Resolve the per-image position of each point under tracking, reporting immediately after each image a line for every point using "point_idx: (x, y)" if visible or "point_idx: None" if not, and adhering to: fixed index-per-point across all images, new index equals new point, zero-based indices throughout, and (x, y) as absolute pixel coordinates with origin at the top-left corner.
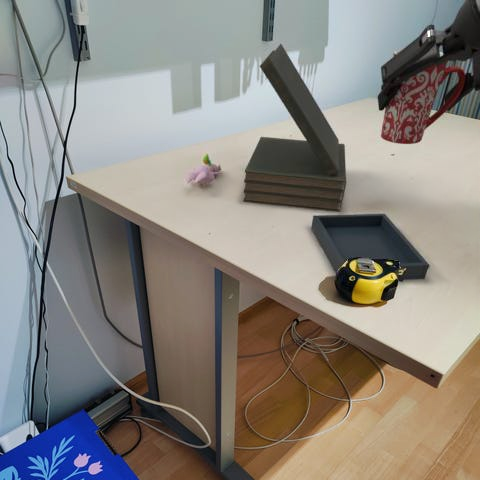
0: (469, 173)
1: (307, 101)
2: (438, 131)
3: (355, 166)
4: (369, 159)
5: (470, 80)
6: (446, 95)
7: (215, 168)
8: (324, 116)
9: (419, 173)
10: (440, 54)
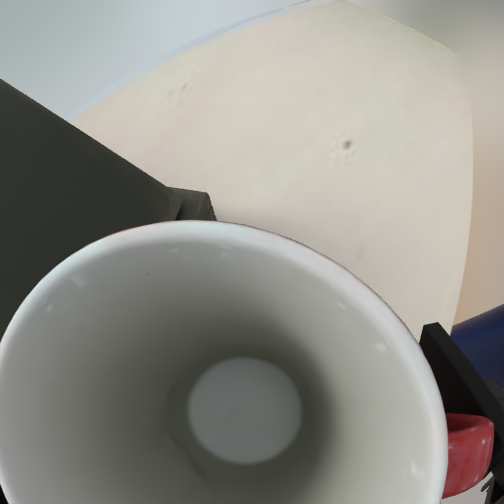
0: (463, 224)
1: (22, 224)
2: (426, 75)
3: (258, 197)
4: (297, 163)
5: (494, 465)
6: (429, 340)
7: None
8: (130, 164)
9: (382, 226)
10: (413, 399)
